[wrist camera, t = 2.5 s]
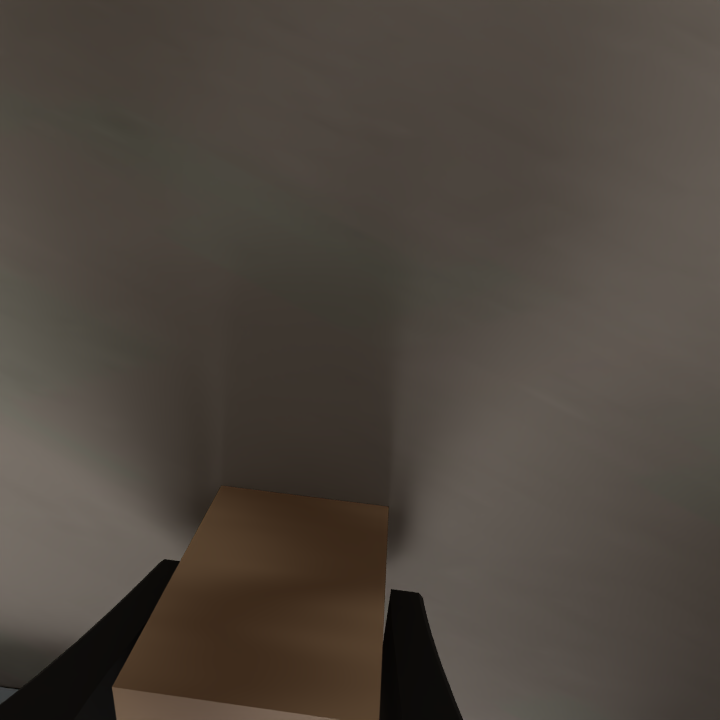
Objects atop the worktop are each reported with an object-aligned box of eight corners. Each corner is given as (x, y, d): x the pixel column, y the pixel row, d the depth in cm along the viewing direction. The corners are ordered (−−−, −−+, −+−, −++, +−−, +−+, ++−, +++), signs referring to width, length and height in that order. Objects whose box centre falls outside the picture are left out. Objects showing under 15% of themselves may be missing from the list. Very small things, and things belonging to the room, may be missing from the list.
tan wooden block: (388, 505, 12) (379, 729, 7) (372, 627, 14) (355, 875, 9) (221, 484, 12) (110, 691, 8) (223, 607, 14) (131, 840, 9)
